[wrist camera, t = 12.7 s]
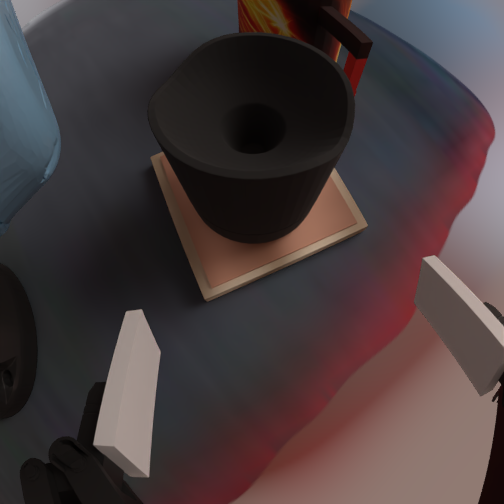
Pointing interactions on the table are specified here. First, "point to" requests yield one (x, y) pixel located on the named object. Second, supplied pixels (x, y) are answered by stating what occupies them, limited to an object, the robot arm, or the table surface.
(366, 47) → the mug
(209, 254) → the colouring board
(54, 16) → the table surface
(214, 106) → the pen holder
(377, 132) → the table surface
